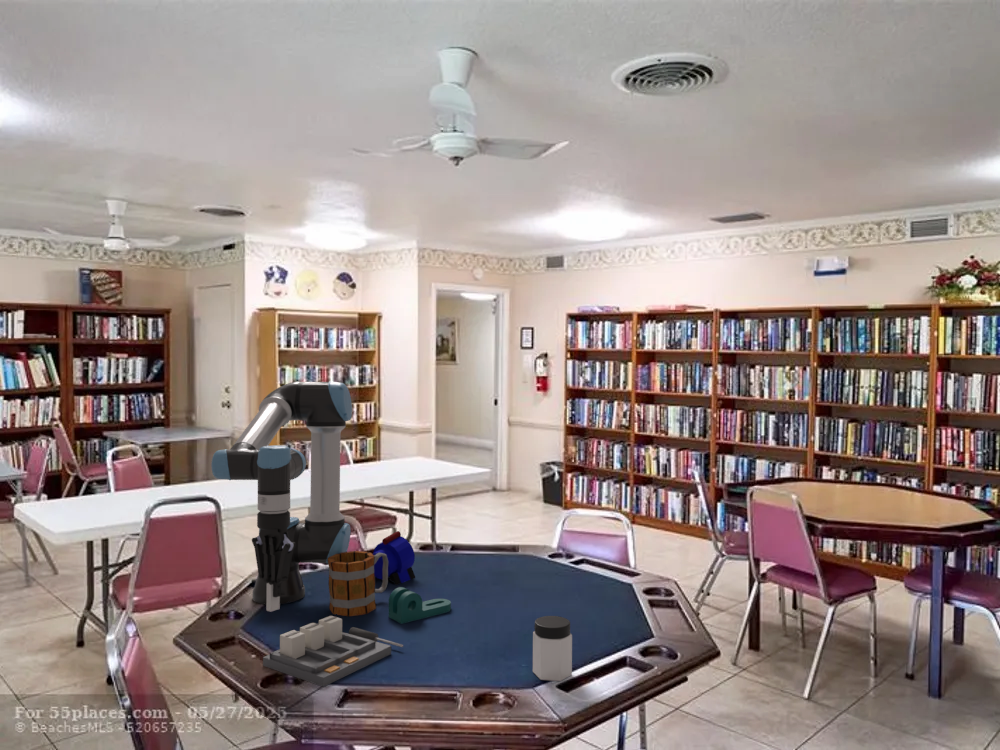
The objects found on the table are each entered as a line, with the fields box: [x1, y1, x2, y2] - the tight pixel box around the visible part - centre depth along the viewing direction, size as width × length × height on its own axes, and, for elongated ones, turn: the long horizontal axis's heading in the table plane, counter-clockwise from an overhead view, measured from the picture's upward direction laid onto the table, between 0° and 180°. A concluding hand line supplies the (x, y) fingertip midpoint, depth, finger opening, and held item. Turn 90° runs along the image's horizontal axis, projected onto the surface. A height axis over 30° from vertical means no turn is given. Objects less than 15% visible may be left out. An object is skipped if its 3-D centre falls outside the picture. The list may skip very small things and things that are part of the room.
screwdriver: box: [348, 626, 404, 648], centre depth 188 cm, size 17×2×2 cm, turn 57°
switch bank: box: [262, 631, 392, 688], centre depth 177 cm, size 20×22×3 cm
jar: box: [532, 615, 573, 682], centre depth 170 cm, size 9×8×12 cm
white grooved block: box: [299, 622, 324, 650], centre depth 179 cm, size 4×4×5 cm
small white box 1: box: [279, 629, 305, 659], centre depth 174 cm, size 4×4×5 cm
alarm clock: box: [372, 530, 416, 586], centre depth 243 cm, size 12×12×15 cm
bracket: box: [388, 586, 452, 625], centre depth 210 cm, size 18×7×8 cm, turn 129°
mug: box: [327, 550, 389, 617], centre depth 216 cm, size 20×14×15 cm
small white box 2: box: [318, 615, 343, 642], centre depth 184 cm, size 4×4×5 cm
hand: (273, 609), depth 178 cm, fingers closed
